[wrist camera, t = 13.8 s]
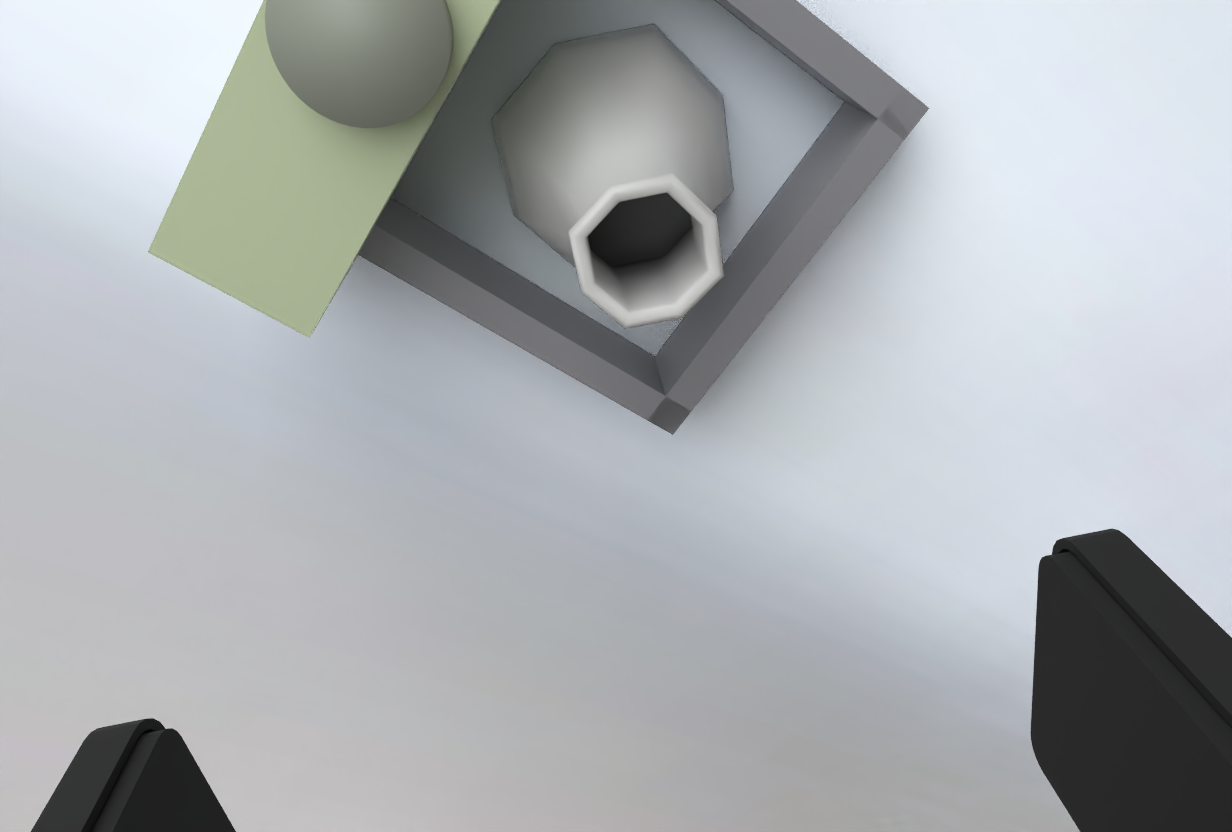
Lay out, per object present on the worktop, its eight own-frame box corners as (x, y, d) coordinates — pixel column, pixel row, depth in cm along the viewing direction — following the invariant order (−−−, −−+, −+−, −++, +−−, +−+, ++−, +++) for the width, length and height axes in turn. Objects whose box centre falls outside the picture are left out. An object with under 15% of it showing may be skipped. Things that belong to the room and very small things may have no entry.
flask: (769, 198, 28) (871, 315, 19) (571, 306, 29) (582, 461, 21) (666, -25, 25) (732, -6, 16) (448, 106, 26) (400, 190, 17)
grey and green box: (913, 62, 27) (1047, 105, 20) (645, 414, 31) (674, 550, 24) (473, -301, 22) (441, -417, 15) (238, 180, 27) (130, 265, 20)
